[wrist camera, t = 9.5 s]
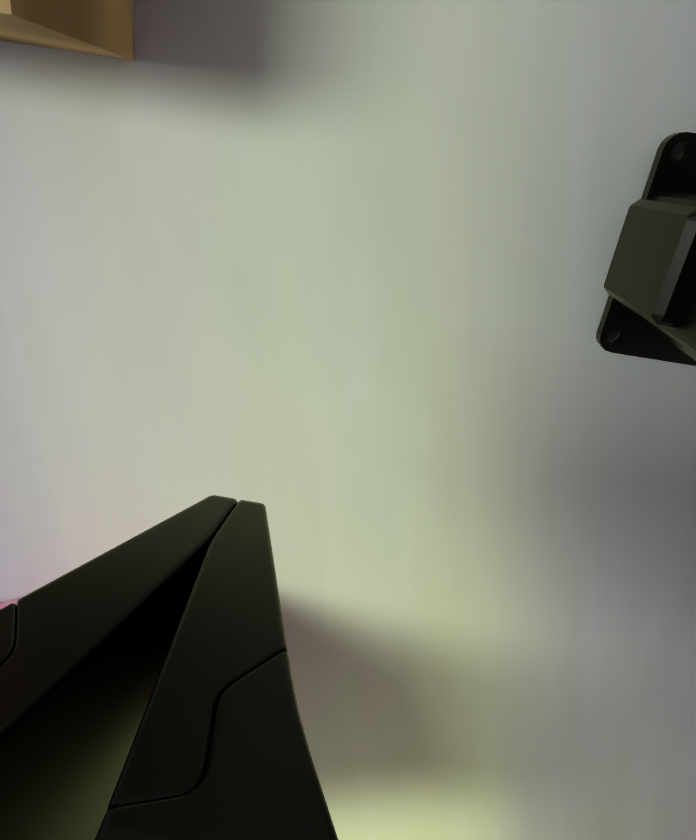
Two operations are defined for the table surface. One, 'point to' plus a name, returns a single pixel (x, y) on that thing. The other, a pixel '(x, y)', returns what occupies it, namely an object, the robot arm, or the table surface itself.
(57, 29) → the tan wooden block
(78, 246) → the table surface
